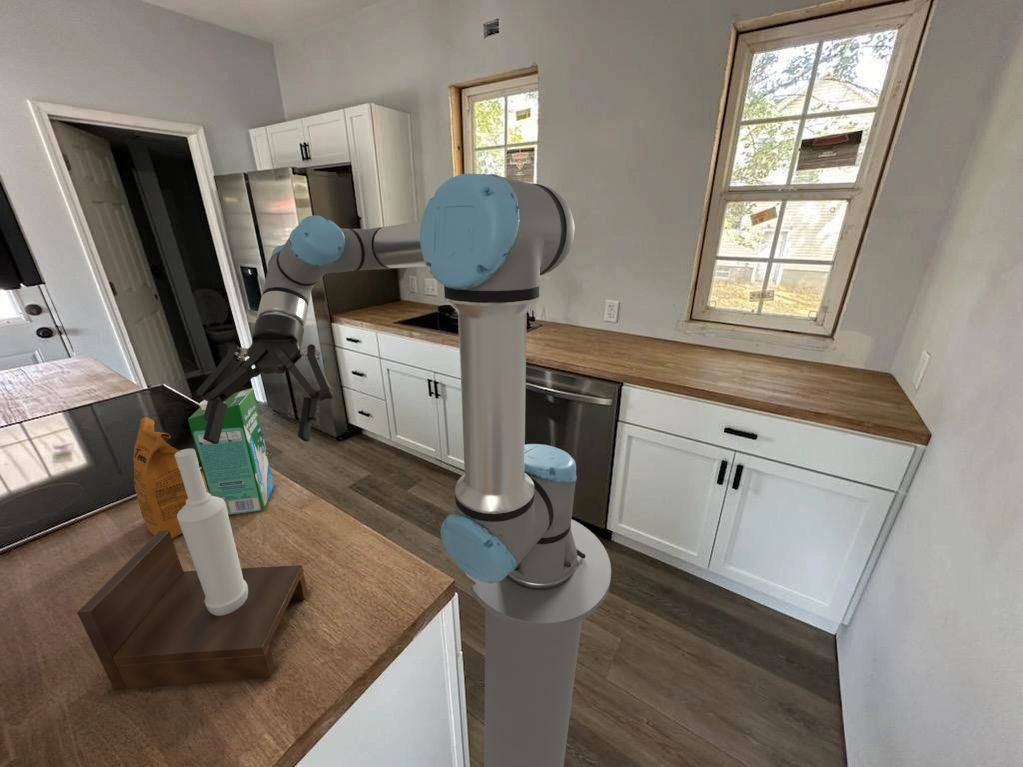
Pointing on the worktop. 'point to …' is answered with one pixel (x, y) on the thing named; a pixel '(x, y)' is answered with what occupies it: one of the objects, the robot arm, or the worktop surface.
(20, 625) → the worktop surface
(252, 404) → the milk carton
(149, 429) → the coffee package
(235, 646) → the shelf
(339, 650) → the worktop surface
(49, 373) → the worktop surface
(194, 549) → the bottle
